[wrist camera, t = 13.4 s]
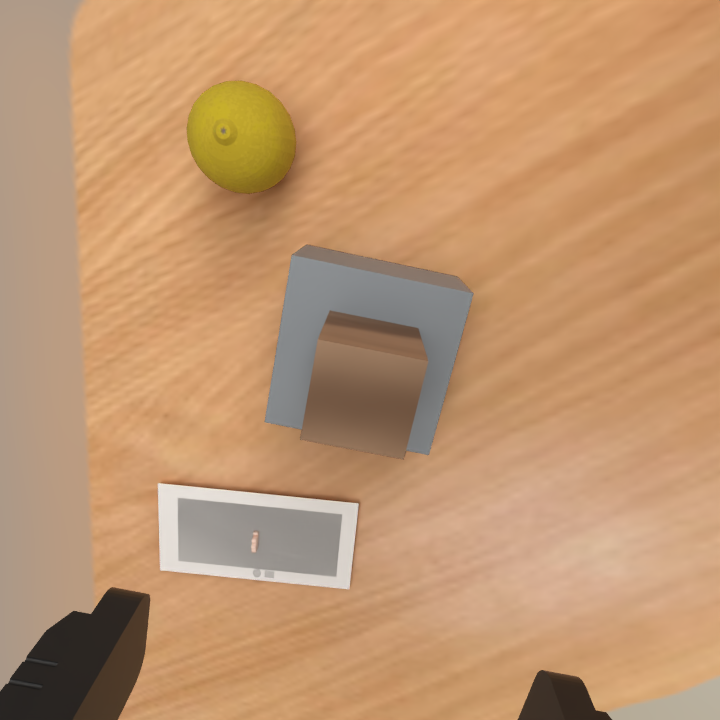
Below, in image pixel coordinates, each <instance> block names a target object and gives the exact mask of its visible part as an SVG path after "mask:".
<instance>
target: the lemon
mask: <svg viewBox="0 0 720 720" xmlns="http://www.w3.org/2000/svg"><path fill="white" fill-rule="evenodd" d="M187 140H188V144H189V147H190V151H191V154H192V156H193V158H194V160H195V162H196V163H197V165H198V167H199V168H200V169H201V170H202V171H203V173H204V174H205V175H206V176H207V177H208V178H209V179H210V180H212V181H213V182H215V183H216V184H218V185H219V186H220V187H222V188H225V189H228V190H230V191H233V192H237V193H246V194H250V193H256V192H262V191H264V190H266V189H269V188H271V187H273V186H275V185H276V184H277V183H278V182H279V181H280V180H282V179H283V178H284V176H285V175H286V173H287V172H288V170H289V169H290V167H291V165H292V162H293V159H294V156H295V149H296V136H295V129H294V126H293V123H292V121H291V118H290V115H289V114H288V112H287V110H286V109H285V107H284V106H283V104H282V103H281V102H280V101H279V100H278V99H277V98H276V97H275V96H274V95H273V94H272V93H271V92H269V91H267V90H265V89H264V88H262V87H260V86H258V85H256V84H253V83H248V82H244V81H226V82H223V83H220V84H217V85H214V86H212V87H211V88H209V89H208V90H206V91H205V92H204V93H202V94H201V96H200V97H199V98H198V99H197V100H196V102H195V103H194V105H193V107H192V109H191V112H190V114H189V118H188V124H187Z"/></svg>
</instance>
